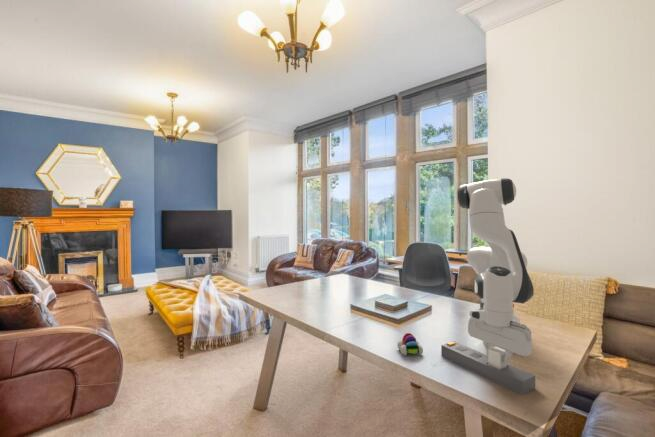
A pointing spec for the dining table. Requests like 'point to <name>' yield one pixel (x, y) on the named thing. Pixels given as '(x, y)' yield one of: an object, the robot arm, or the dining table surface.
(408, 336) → the multicoloured domed toy
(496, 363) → the charger plug
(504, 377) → the power strip
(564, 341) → the dining table surface
